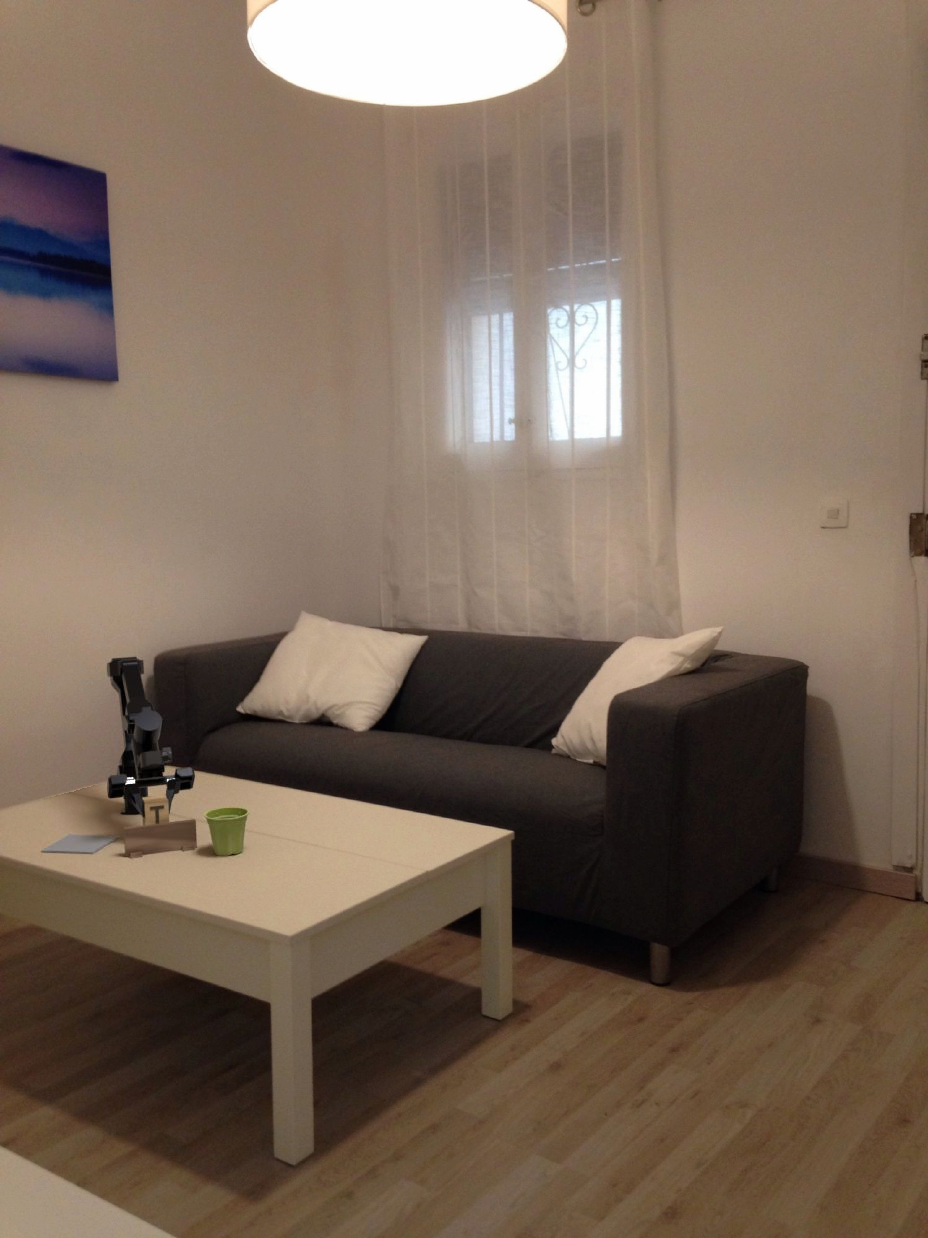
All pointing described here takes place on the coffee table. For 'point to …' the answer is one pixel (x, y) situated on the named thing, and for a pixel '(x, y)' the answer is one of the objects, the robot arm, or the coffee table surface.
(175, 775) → the robot arm
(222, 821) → the plant pot
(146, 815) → the letter block
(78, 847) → the felt mat
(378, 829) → the coffee table surface
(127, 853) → the walnut screen
